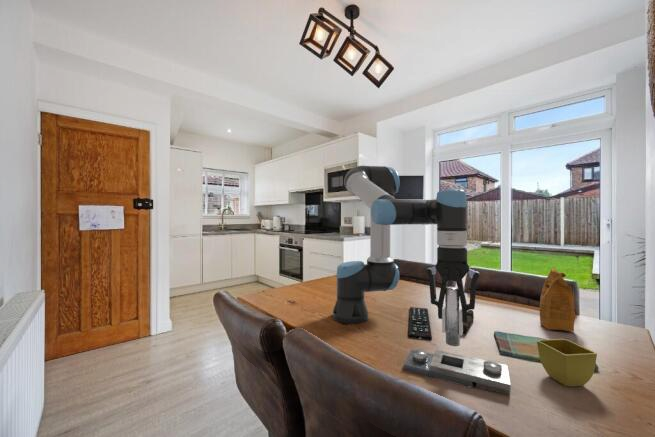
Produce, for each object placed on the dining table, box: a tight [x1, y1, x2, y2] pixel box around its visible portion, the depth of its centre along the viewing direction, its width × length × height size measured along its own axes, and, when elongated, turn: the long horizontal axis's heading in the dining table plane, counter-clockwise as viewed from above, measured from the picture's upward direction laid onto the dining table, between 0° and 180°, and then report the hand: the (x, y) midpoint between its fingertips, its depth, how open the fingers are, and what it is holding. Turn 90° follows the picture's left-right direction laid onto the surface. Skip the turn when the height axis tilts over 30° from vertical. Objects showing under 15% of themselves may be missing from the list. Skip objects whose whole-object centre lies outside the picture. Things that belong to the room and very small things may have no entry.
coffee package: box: [539, 267, 576, 332], centre depth 107 cm, size 10×12×22 cm
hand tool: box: [462, 309, 475, 336], centre depth 108 cm, size 19×4×5 cm, turn 139°
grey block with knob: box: [430, 349, 511, 396], centre depth 74 cm, size 18×10×4 cm, turn 61°
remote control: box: [408, 306, 433, 341], centre depth 112 cm, size 8×32×2 cm, turn 163°
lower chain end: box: [403, 348, 473, 388], centre depth 78 cm, size 17×10×4 cm, turn 61°
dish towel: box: [493, 330, 600, 372], centre depth 88 cm, size 17×23×2 cm
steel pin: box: [444, 286, 461, 347], centre depth 76 cm, size 4×4×15 cm
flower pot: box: [537, 338, 598, 387], centre depth 72 cm, size 9×9×9 cm
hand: (452, 332), depth 76 cm, fingers closed on steel pin, 3 cm apart
